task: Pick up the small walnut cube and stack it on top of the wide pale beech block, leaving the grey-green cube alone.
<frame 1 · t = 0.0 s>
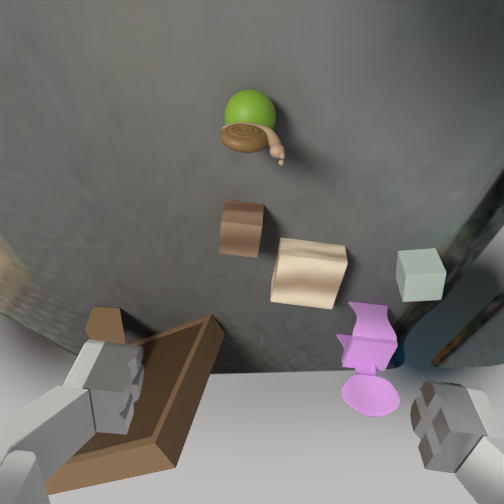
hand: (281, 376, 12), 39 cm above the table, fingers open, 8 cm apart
grey-green cube: (414, 262, 59), on the table
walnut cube: (242, 217, 56), on the table
photo frame: (148, 321, 71), on the table
toy chair: (361, 319, 67), on the table
snail figurine: (256, 107, 46), on the table
beech block: (306, 264, 61), on the table
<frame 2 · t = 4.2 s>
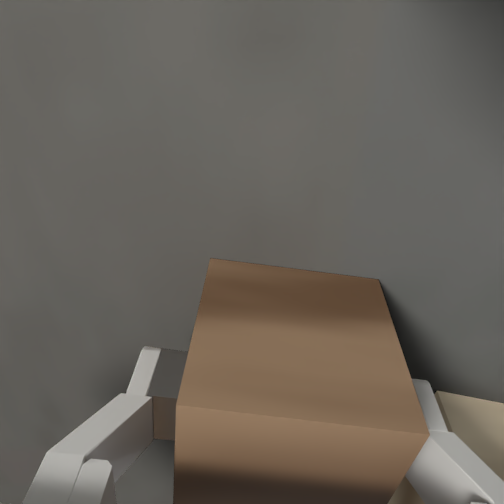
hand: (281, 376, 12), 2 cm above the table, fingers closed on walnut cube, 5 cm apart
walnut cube: (281, 329, 14), on the table, touching gripper
beech block: (483, 468, 18), on the table
when the fingers open (7 cm above the table, at t = 9.7 s): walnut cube drops 1 cm, point 4 cm above the table.
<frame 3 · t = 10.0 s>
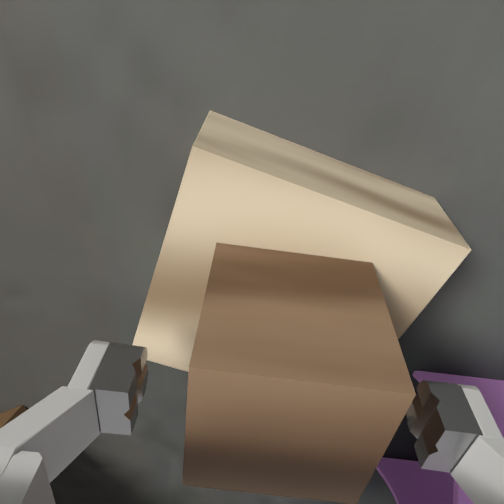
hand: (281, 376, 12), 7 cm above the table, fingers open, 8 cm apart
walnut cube: (282, 311, 15), point 4 cm above the table
toy chair: (444, 419, 24), on the table
beech block: (279, 246, 18), on the table
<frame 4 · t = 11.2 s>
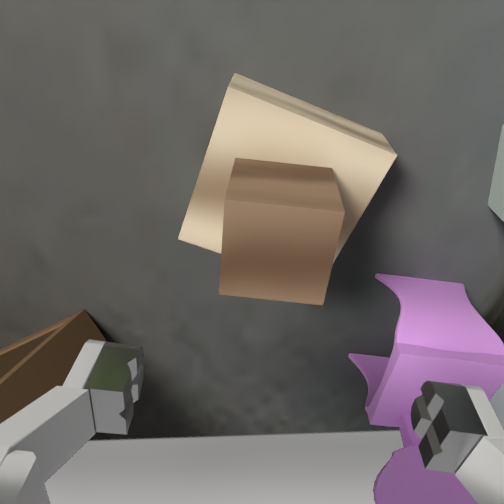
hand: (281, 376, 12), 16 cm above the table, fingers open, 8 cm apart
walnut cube: (277, 206, 23), point 4 cm above the table, touching beech block
toy chair: (401, 317, 31), on the table
beech block: (279, 172, 26), on the table, touching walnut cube
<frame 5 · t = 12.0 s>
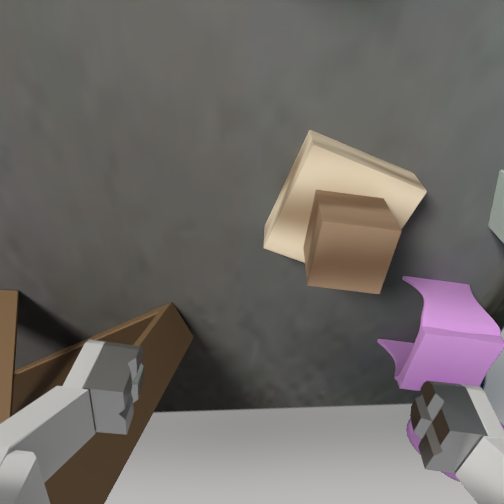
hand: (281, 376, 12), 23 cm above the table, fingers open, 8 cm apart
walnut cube: (341, 224, 32), point 4 cm above the table, touching beech block
photo frame: (69, 316, 43), on the table
toy chair: (420, 310, 41), on the table
beech block: (334, 198, 35), on the table, touching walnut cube
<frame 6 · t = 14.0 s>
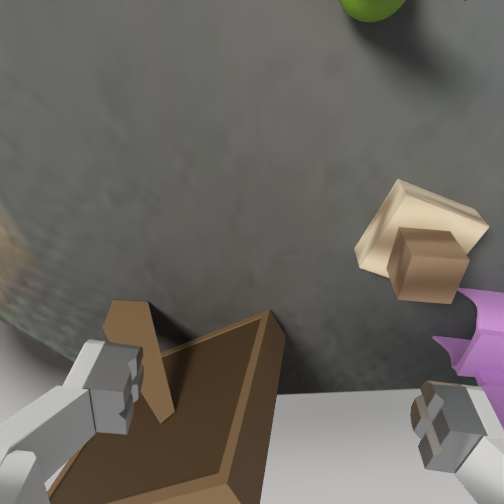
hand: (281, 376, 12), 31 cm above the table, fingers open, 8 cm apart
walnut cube: (417, 250, 42), point 4 cm above the table, touching beech block
photo frame: (184, 320, 54), on the table
toy chair: (469, 313, 51), on the table
beech block: (411, 227, 45), on the table, touching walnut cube
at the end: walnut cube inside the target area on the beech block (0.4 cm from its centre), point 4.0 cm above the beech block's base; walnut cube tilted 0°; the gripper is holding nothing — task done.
